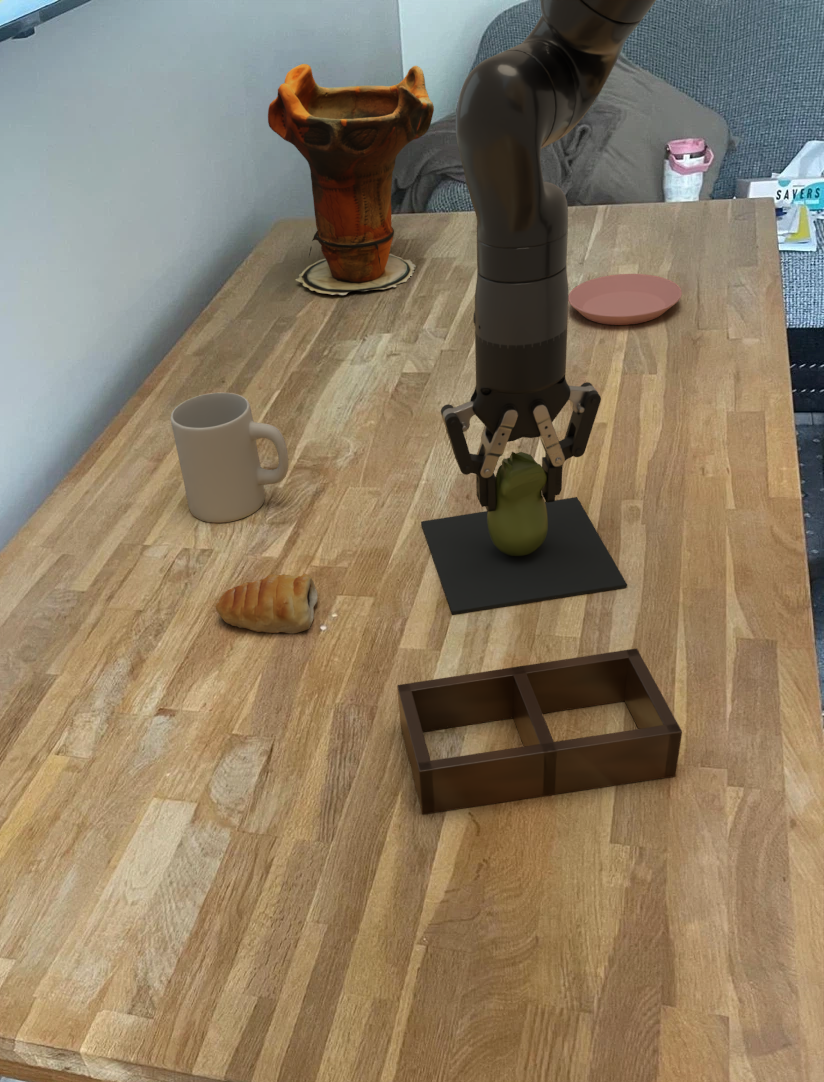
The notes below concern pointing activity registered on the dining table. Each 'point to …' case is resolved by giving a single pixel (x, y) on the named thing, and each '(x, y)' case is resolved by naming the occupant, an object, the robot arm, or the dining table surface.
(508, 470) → the green rounded tall piece
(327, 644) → the dining table surface
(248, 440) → the mug
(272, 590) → the pastry
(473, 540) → the mat
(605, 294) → the plate
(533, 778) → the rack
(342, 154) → the decorative vase
